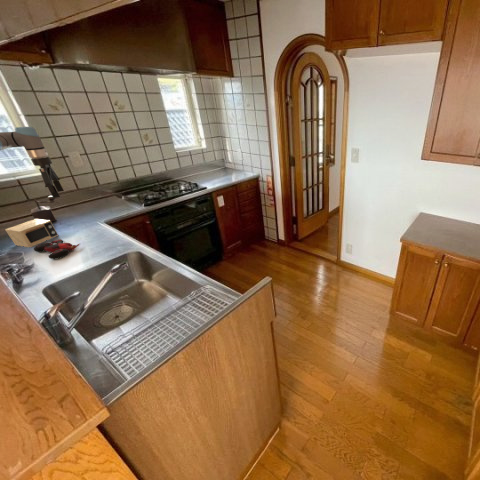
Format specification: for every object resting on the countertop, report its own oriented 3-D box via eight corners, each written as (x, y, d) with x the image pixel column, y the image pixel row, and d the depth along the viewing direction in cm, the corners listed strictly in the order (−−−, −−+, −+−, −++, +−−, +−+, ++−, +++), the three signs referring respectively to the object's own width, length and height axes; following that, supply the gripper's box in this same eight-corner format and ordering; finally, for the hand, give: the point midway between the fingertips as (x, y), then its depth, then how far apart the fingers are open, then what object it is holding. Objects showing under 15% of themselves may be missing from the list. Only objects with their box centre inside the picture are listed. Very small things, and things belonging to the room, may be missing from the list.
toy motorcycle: (56, 263, 145) (87, 246, 156) (50, 256, 142) (81, 239, 153) (36, 254, 155) (66, 238, 166) (29, 247, 152) (60, 232, 163)
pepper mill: (37, 225, 186) (23, 201, 177) (36, 221, 192) (23, 197, 184) (66, 218, 195) (54, 195, 187) (64, 215, 202) (52, 192, 194)
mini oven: (15, 245, 161) (5, 229, 155) (45, 233, 174) (36, 218, 169) (31, 247, 158) (21, 231, 152) (60, 235, 171) (51, 220, 166)
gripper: (43, 160, 136) (63, 198, 147) (53, 153, 155) (70, 187, 165) (24, 162, 133) (45, 201, 143) (36, 154, 151) (54, 190, 161)
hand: (58, 194), depth 154 cm, fingers open, 13 cm apart
